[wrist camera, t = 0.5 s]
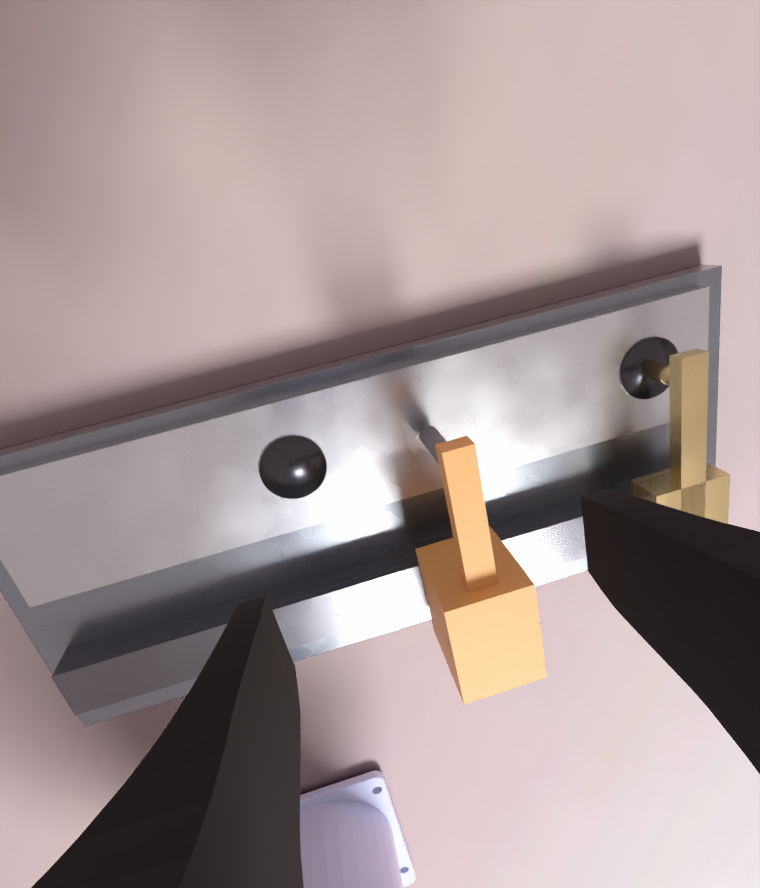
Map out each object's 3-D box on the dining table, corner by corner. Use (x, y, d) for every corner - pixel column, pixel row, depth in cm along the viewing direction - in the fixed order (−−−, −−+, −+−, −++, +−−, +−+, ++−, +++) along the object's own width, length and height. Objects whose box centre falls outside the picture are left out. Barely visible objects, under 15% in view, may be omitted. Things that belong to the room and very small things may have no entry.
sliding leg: (496, 596, 22) (546, 677, 18) (429, 618, 22) (464, 704, 18) (463, 398, 19) (516, 440, 14) (382, 420, 18) (412, 470, 14)
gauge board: (697, 520, 25) (768, 567, 22) (92, 707, 23) (57, 796, 19) (702, 264, 21) (793, 268, 17) (-55, 463, 18) (-139, 518, 14)
